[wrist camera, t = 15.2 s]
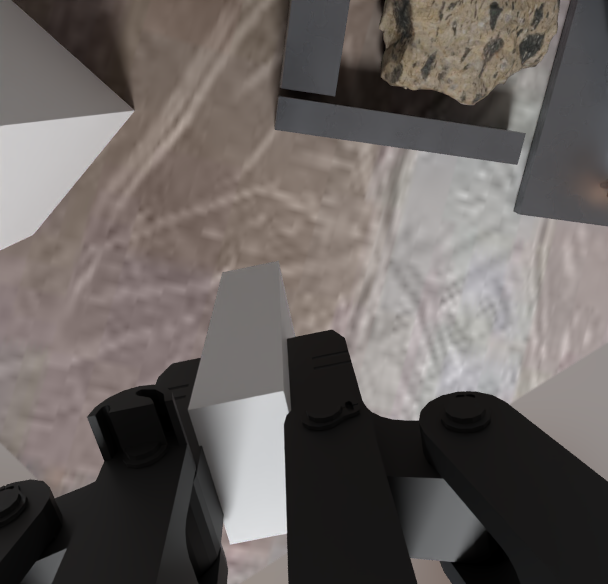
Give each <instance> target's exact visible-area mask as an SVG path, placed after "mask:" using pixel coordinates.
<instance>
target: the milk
mask: <svg viewBox="0 0 608 584" xmlns="http://www.w3.org/2000/svg"><path fill="white" fill-rule="evenodd" d="M134 111H135V110H134V109H133V108H131V107H130V106H129V105H128V104H127V103H126V102H125V101H124V100H123V99H121V98H120V97H119V96H118V95H117V94H116V93H115V92H114V91H112V90H111V89H110V88H109V87H108V86H107V85H106V84H105V83H104V82H102V81H101V80H100V79H99V78H98V77H97V76H96V75H95V74H93V73H92V72H91V71H90V70H89V69H88V68H87V67H86V66H85V65H83V64H82V63H81V62H80V61H79V60H78V59H77V58H76V57H74V56H73V55H72V54H71V53H70V52H69V51H68V50H67V49H66V48H64V47H63V46H62V45H61V44H60V43H59V42H58V41H57V40H55V39H54V38H53V37H52V36H51V35H50V34H49V33H48V32H47V31H45V30H44V29H43V28H42V27H41V26H40V25H39V24H38V23H36V22H35V21H34V20H33V19H32V18H31V17H30V16H29V15H28V14H26V13H25V12H24V11H23V10H22V9H21V8H20V7H19V6H17V5H16V4H15V3H14V2H13V1H12V0H0V250H2V249H4V248H6V247H8V246H10V245H12V244H15V243H17V242H19V241H21V240H23V239H25V238H27V237H30V236H32V235H33V234H34V233H35V232H36V231H37V229H38V228H39V227H40V226H41V225H42V223H43V222H44V221H45V220H46V218H47V217H48V216H49V215H50V214H51V212H52V211H53V210H54V209H55V207H56V206H57V205H58V204H59V203H60V201H61V200H62V199H63V198H64V196H65V195H66V194H67V193H68V192H69V190H70V189H71V188H72V187H73V185H74V184H75V183H76V182H77V181H78V179H79V178H80V177H81V176H82V174H83V173H84V172H85V171H86V170H87V168H88V167H89V166H90V165H91V164H92V162H93V161H94V160H95V159H96V157H97V156H98V155H99V154H100V153H101V151H102V150H103V149H104V148H105V146H106V145H107V144H108V143H109V142H110V140H111V139H112V138H113V137H114V135H115V134H116V133H117V132H118V131H119V129H120V128H121V127H122V126H123V124H124V123H125V122H126V121H127V120H128V118H129V117H130V116H131V115H132V113H133V112H134Z"/></svg>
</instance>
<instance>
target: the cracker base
mask: <svg viewBox="0 0 608 584" xmlns="http://www.w3.org/2000/svg"><path fill="white" fill-rule="evenodd" d="M349 2H350V0H290V2H289V11H288V19H287V27H286V35H285V44H284V52H283V60H282V68H281V77H280V85H279V88H284V89H290V90H297V91H304V92H310V93H317V94H323V95H330V96H335V94H336V87H337V81H338V74H339V68H340V61H341V55H342V48H343V42H344V35H345V29H346V22H347V15H348V9H349ZM274 127H275V130H280V131H287V132H294V133H301V134H308V135H315V136H322V137H329V138H336V139H343V140H350V141H357V142H363V143H370V144H377V145H384V146H391V147H398V148H405V149H412V150H419V151H426V152H433V153H440V154H447V155H453V156H460V157H467V158H474V159H481V160H488V161H495V162H502V163H509V164H516V165H517V164H518V160H519V157H520V153H521V149H522V145H523V142H524V138H525V134H526V133H521V132H516V131H510V130H504V129H498V128H491V127H485V126H478V125H471V124H465V123H458V122H451V121H445V120H438V119H432V118H425V117H418V116H412V115H405V114H398V113H392V112H385V111H378V110H372V109H365V108H359V107H352V106H345V105H339V104H332V103H325V102H319V101H312V100H305V99H299V98H292V97H286V96H279V95H278V101H277V110H276V118H275V126H274ZM514 212H516V213H518V214H521V215H528V216H536V217H543V218H550V219H558V220H565V221H573V222H580V223H587V224H595V225H602V226H608V0H571V2H570V6H569V9H568V13H567V17H566V20H565V24H564V28H563V31H562V35H561V39H560V43H559V46H558V50H557V54H556V57H555V61H554V65H553V68H552V72H551V76H550V79H549V83H548V87H547V90H546V94H545V98H544V101H543V105H542V109H541V112H540V116H539V120H538V124H537V127H536V131H535V135H534V138H533V142H532V146H531V149H530V153H529V157H528V160H527V164H526V168H525V171H524V175H523V179H522V182H521V186H520V190H519V194H518V197H517V201H516V205H515V208H514Z"/></svg>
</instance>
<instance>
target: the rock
mask: <svg viewBox="0 0 608 584" xmlns="http://www.w3.org/2000/svg"><path fill="white" fill-rule="evenodd" d="M559 7H560V0H385V4H384V9H383V15H382V18H381V21H380V24H379V29H380V30H382V31H383V38H384V42H385V44H386V49H385V52H384V55H383V58H382V62H381V78H382V79H383V80H385V81H387V82H388V83H389V85H391V86H401V87H404V88H405V89H407V88H409V89H410V90H420V89H427V90H434V91H438V92H441V93H444V94H446V95H449V96H450V97H452V98H454V99H456V100H457V101H458V102H459V103H461V104H464V105H475V104H476V103H477V102H478V101H480V100H482V99H484V98H485V97H486V96H487V95H488V94H489V93H490V92H491V91H492V90H493V89H494V88H495V86H496V85H498V84H504V83H505V82H506V80H507V78H508V77H510V76H511V75H513V74H514V73H516V72H518V71H520V70H521V69H522V68H529V67H535V66H536V65H537V64H538V63H539V62H541V60H542V59H543V57H544V55H545V54H546V53H547V51H548V47H549V43H550V41H551V39H552V38H553V36H554V35H555V34H556V33H557V29H558V22H557V20H558V12H559Z"/></svg>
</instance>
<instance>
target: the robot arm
mask: <svg viewBox="0 0 608 584" xmlns="http://www.w3.org/2000/svg"><path fill="white" fill-rule="evenodd" d="M87 418H88V421H89V423H90V426H91V428H92V431H93V433H94V436H95V438H96V441H97V444H98V446H99V449H100V451H101V454H102V456H103V459H104V464H103V466H102V468H101V471H100V473H99V475H98V477H97V480H96V481H95V482H93V483H91V484H89V485H87V486H85V487H82V488H80V489H77V490H75V491H72V492H70V493H67V494H65V495H62V496H60V497H57V498H54V496H53V494H52V491H51V489H50V487H49V486H48V485H47V484H46V483H44V482H43V481H38V480H26V481H20V482H15V483H11V484H7V485H6V486H2V487H0V584H227V576H228V567H227V561H226V557H225V554H224V551H223V548H222V544H221V537H222V527H223V523H224V526H225V529H226V532H227V535H228V538H229V542H230V544H235V543H241V542H246V541H251V540H256V539H261V538H266V537H271V536H276V535H282V534H287V549H288V581H289V584H417V580H416V577H415V574H414V570H413V567H412V563H411V559H410V558H417V559H427V560H437V561H440V563H441V566H442V568H443V571H444V573H445V574H446V576H447V577H448V578H449V580H450V581H451V583H452V584H608V481H606V480H605V479H604V478H602V477H601V476H600V475H598V474H597V473H596V472H595V471H593V470H592V469H591V468H590V467H588V466H587V465H586V464H585V463H583V462H582V461H581V460H579V459H578V458H577V457H576V456H574V455H573V454H572V453H570V452H569V451H568V450H567V449H565V448H564V447H563V446H561V445H560V444H559V443H558V442H556V441H555V440H553V439H552V438H551V437H550V436H549V435H547V434H546V433H545V432H543V431H542V430H541V429H540V428H538V427H537V426H536V425H534V424H533V423H532V422H531V421H529V420H528V419H527V418H526V417H524V416H523V415H522V414H520V413H519V412H518V411H517V410H515V409H514V408H512V407H511V406H510V405H509V404H508V403H506V402H505V401H503V400H501V399H499V398H497V397H495V396H493V395H489V394H485V393H480V392H470V391H466V392H464V391H463V392H455V393H451V394H446V395H442V396H440V397H438V398H436V399H434V400H432V401H430V402H429V403H428V404H427V405H426V406H425V407H424V408H423V409H422V410H421V412H420V418H419V421H404V420H392V419H388V418H384V417H381V416H379V415H377V414H375V413H372V412H371V411H370V410H369V409H368V408H367V407H366V406H365V404H364V403H363V401H362V398H361V394H360V391H359V387H358V383H357V380H356V376H355V373H354V369H353V366H352V363H351V359H350V355H349V352H348V348H347V344H346V341H345V338H344V337H342V336H341V335H340V334H338V333H337V332H335V331H334V330H328V331H323V332H318V333H313V334H308V335H303V336H298V337H295V332H294V328H293V323H292V319H291V314H290V310H289V305H288V301H287V296H286V292H285V288H284V283H283V279H282V274H281V270H280V265H279V261H276V262H271V263H266V264H261V265H256V266H252V267H247V268H242V269H237V270H232V271H227V272H223V273H222V277H221V281H220V285H219V288H218V292H217V296H216V300H215V304H214V308H213V312H212V316H211V320H210V324H209V328H208V332H207V336H206V340H205V344H204V348H203V352H202V356H201V358H197V359H193V360H188V361H183V362H178V363H173V364H171V365H170V366H169V367H168V368H167V369H166V370H165V371H164V372H163V373H162V374H161V375H160V376H159V377H158V380H157V382H156V385H146V386H138V387H135V388H131V389H128V390H124V391H122V392H120V393H118V394H116V395H114V396H111V397H109V398H107V399H106V400H105V401H103V402H102V403H100V404H99V405H98V406H96V407H95V408H94V409H93V411H92V412H91V413H90V414H89V415H88V417H87Z"/></svg>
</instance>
